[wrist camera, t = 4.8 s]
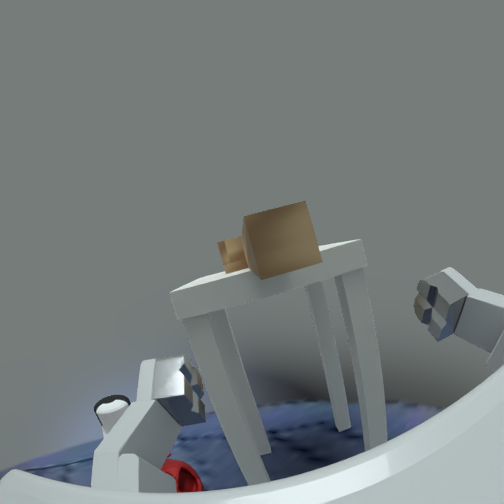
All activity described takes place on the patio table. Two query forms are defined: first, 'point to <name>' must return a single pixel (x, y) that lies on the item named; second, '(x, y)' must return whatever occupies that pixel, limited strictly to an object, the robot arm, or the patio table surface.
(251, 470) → the tall stand
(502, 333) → the robot arm
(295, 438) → the patio table surface
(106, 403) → the medicine bottle
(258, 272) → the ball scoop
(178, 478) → the pomegranate
